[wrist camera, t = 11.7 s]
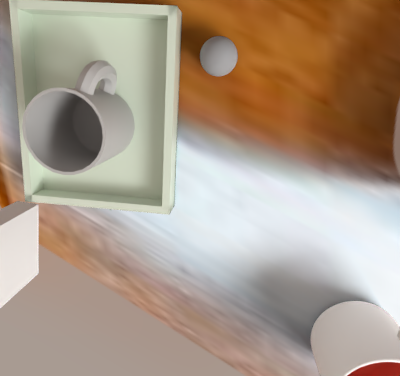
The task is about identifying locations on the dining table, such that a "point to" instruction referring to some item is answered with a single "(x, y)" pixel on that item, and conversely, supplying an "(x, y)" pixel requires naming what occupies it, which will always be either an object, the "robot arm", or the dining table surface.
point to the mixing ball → (218, 56)
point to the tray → (126, 88)
